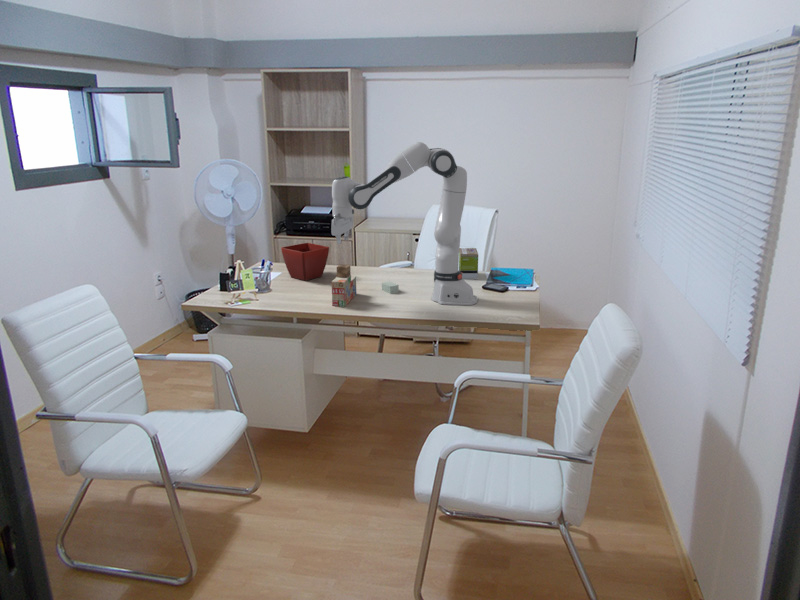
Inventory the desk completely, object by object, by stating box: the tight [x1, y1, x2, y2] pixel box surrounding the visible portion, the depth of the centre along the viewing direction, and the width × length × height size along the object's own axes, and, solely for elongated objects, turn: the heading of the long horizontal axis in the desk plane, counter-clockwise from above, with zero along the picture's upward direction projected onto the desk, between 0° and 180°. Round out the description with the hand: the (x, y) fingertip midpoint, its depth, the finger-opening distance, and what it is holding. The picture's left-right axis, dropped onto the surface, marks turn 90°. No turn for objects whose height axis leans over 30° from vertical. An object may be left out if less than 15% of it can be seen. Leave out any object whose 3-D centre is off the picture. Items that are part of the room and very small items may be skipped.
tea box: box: [458, 247, 479, 280], centre depth 328 cm, size 15×10×15 cm, turn 178°
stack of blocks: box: [331, 275, 357, 307], centre depth 285 cm, size 21×6×12 cm, turn 169°
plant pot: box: [280, 242, 330, 281], centre depth 324 cm, size 19×19×17 cm
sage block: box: [381, 281, 399, 295], centre depth 301 cm, size 5×8×4 cm, turn 34°
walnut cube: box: [336, 264, 352, 278], centre depth 281 cm, size 5×5×5 cm
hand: (342, 241), depth 277 cm, fingers open, 8 cm apart
